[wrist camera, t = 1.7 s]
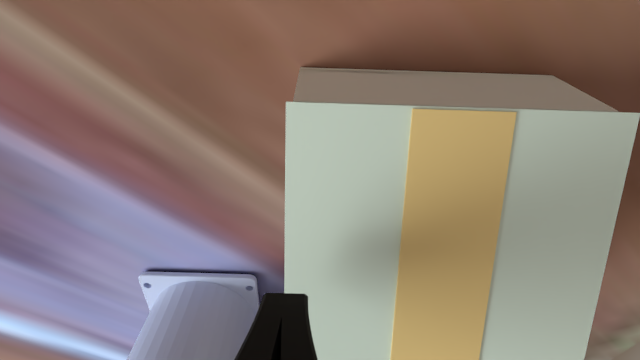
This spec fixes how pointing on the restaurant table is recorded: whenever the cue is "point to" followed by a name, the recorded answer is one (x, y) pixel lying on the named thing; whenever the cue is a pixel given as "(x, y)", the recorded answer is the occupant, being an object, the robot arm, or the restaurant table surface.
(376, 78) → the parcel box
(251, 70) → the restaurant table surface
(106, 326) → the restaurant table surface
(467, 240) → the box lid
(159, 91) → the restaurant table surface
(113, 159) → the restaurant table surface
